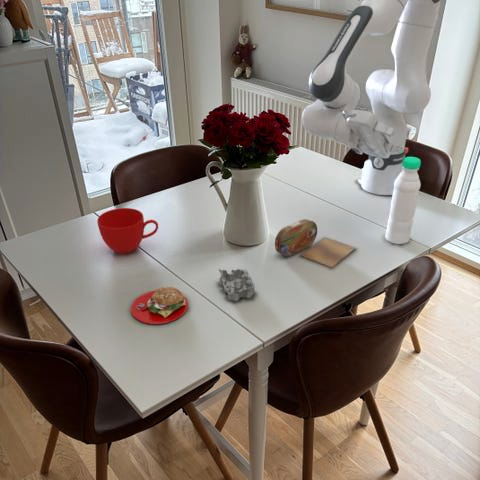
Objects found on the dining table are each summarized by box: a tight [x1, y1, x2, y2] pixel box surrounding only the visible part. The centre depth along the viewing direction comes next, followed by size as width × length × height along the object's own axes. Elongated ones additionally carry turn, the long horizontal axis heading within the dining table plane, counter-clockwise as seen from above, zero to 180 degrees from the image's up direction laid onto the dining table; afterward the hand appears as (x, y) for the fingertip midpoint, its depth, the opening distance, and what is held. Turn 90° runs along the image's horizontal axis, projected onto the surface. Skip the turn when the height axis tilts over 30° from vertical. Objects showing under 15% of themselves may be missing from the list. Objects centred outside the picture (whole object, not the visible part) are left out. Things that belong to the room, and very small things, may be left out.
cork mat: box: [301, 237, 356, 269], centre depth 145 cm, size 13×10×1 cm
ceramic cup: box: [96, 207, 159, 255], centre depth 146 cm, size 13×17×10 cm
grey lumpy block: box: [218, 268, 256, 302], centre depth 129 cm, size 11×8×4 cm
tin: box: [274, 218, 318, 258], centre depth 144 cm, size 15×3×8 cm, turn 129°
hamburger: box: [130, 286, 189, 325], centre depth 123 cm, size 14×14×6 cm
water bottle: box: [384, 156, 422, 245], centre depth 144 cm, size 7×7×25 cm
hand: (397, 141), depth 132 cm, fingers open, 8 cm apart
